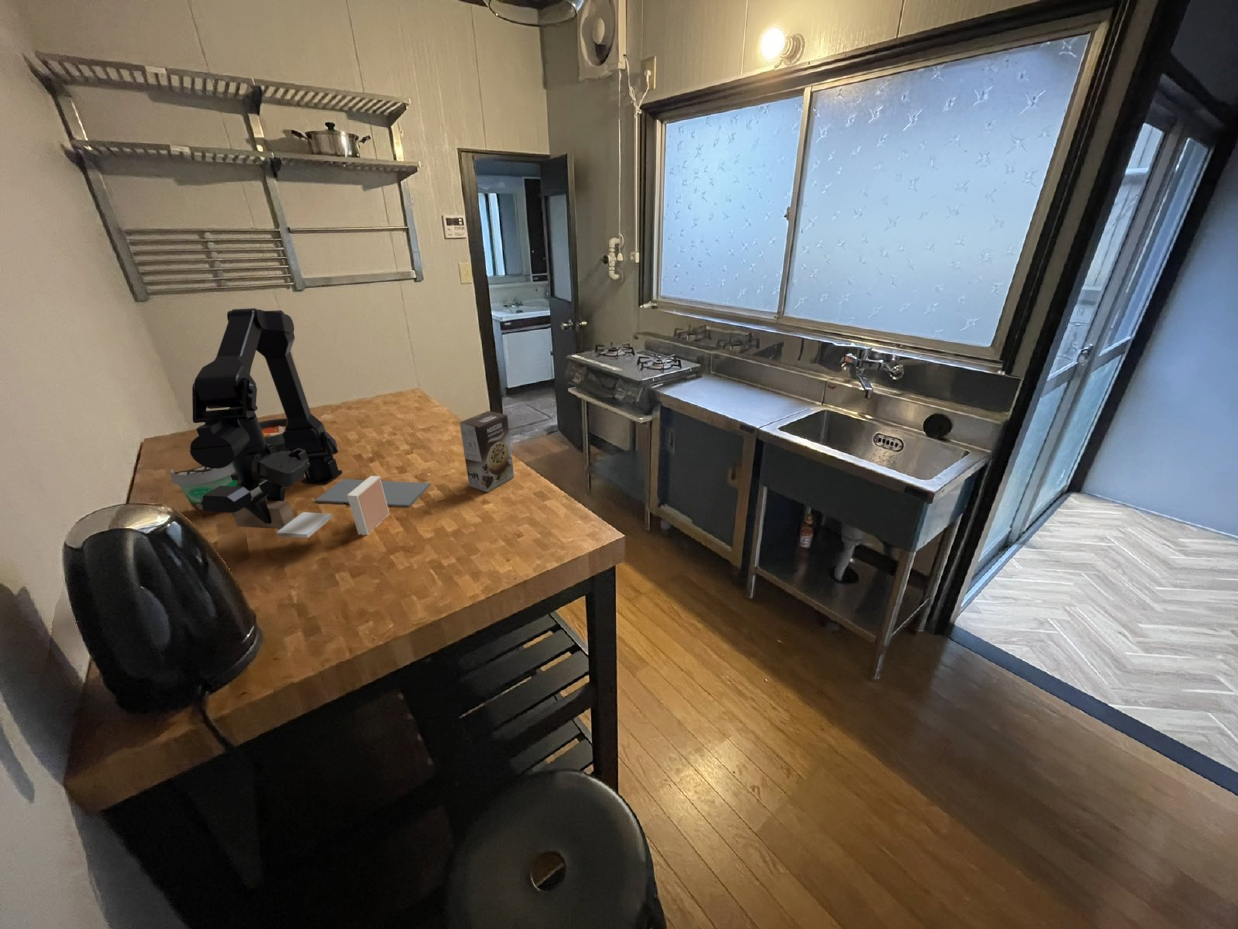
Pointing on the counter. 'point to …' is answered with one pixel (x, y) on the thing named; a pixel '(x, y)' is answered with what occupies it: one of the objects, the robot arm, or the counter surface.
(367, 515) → the glazed tile
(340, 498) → the rest mat
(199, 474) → the food container
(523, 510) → the counter surface
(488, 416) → the coffee box
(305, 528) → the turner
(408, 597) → the counter surface
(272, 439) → the casserole
